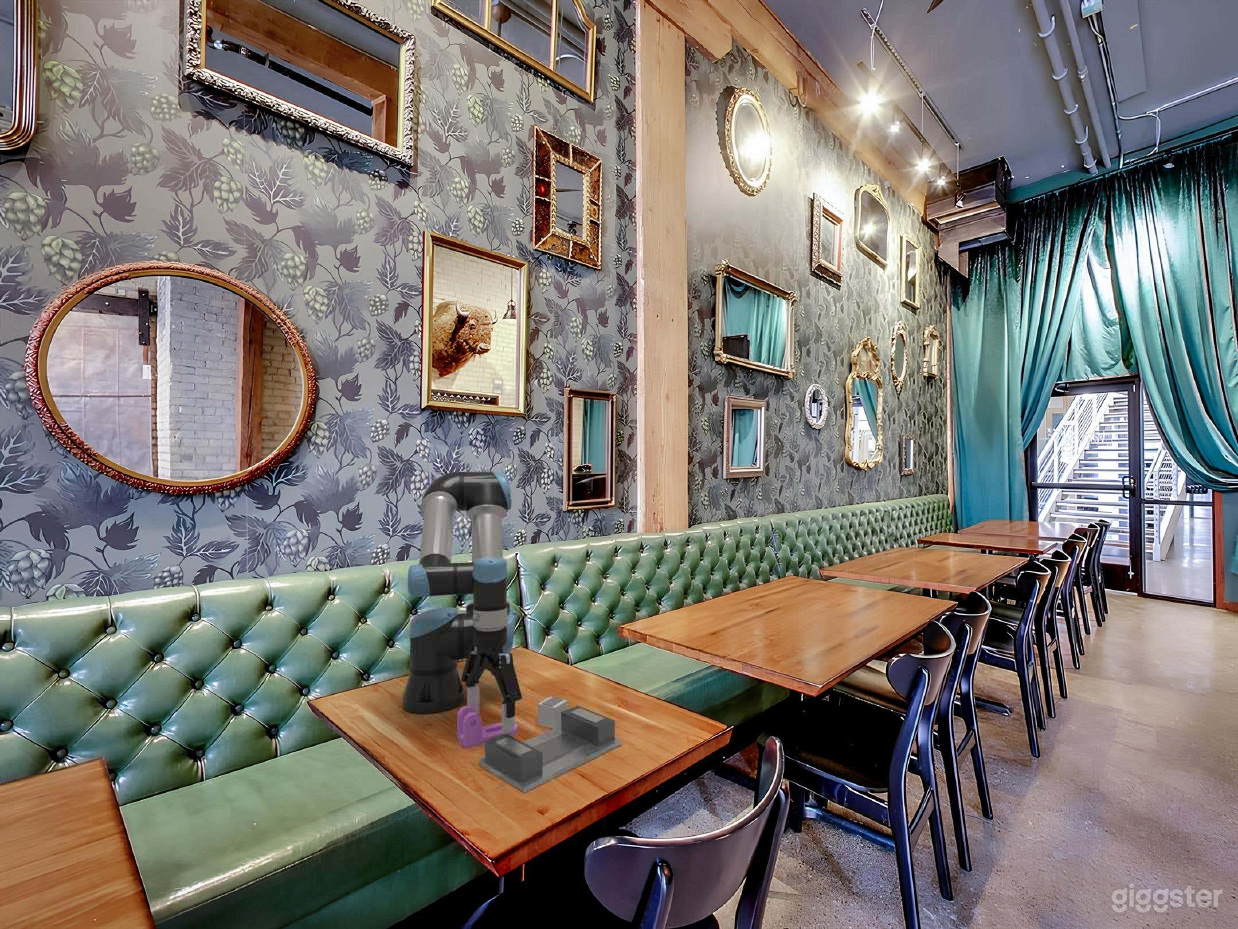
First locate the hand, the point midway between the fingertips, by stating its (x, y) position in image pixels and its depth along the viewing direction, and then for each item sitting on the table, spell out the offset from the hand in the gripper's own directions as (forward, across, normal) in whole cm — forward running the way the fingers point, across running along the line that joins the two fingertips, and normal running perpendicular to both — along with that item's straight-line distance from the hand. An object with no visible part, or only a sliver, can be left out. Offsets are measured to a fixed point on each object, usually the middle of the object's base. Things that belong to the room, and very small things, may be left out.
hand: (490, 723), depth 130 cm
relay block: (+3, +5, +14) cm, 15 cm away
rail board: (+3, +17, +4) cm, 17 cm away
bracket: (+3, 0, 0) cm, 3 cm away
